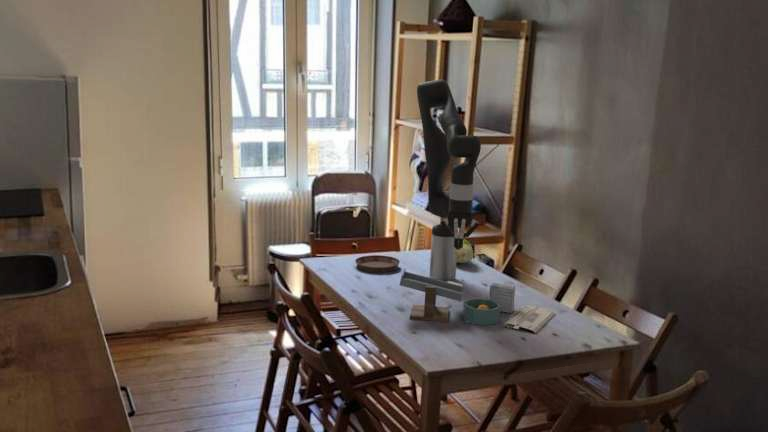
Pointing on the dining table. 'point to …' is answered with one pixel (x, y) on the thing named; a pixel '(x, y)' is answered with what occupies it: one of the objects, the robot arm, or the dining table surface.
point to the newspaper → (530, 318)
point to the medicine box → (503, 296)
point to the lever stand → (429, 308)
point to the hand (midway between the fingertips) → (458, 249)
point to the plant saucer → (377, 263)
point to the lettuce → (464, 252)
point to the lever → (441, 287)
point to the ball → (483, 307)
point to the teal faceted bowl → (481, 311)
